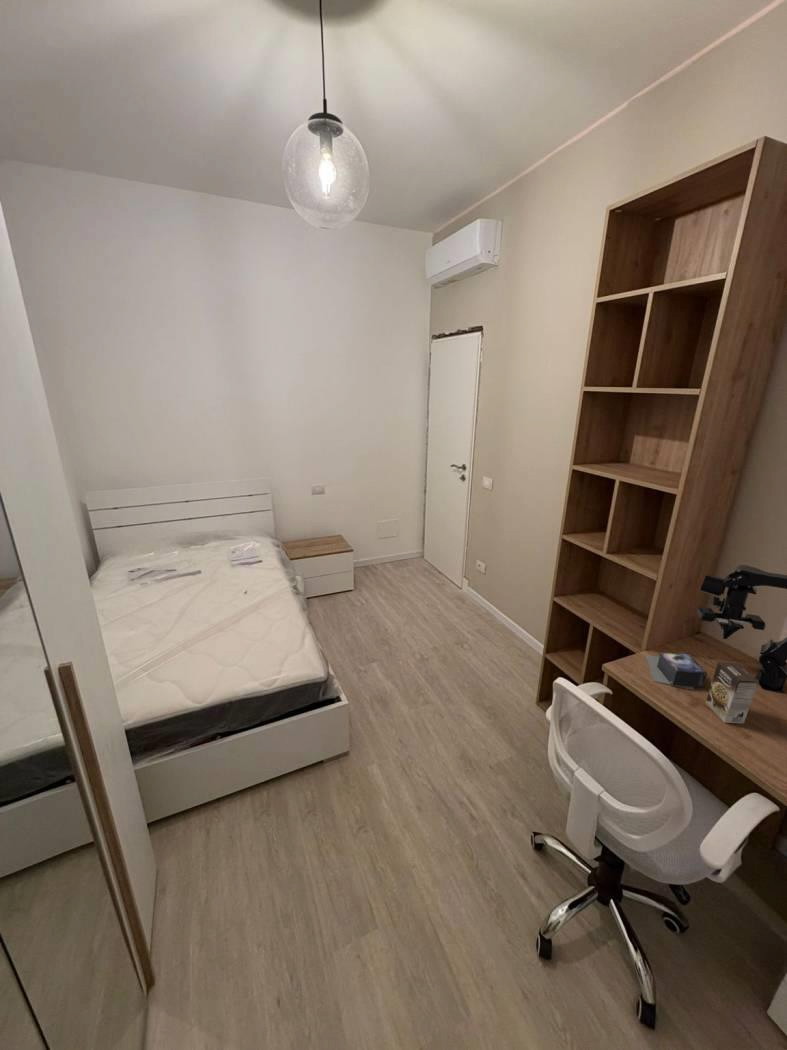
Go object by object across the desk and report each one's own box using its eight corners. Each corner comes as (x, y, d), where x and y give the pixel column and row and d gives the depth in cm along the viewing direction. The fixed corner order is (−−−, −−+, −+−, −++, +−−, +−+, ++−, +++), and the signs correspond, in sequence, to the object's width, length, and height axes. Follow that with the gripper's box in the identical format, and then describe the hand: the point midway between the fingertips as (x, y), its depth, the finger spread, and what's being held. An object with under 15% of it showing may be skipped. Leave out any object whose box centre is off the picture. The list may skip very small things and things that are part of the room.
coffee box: (704, 702, 139) (716, 661, 133) (724, 702, 138) (737, 661, 133) (724, 723, 130) (738, 680, 125) (745, 723, 130) (760, 680, 125)
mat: (681, 662, 158) (681, 661, 158) (693, 690, 144) (694, 689, 144) (645, 655, 162) (645, 654, 162) (654, 681, 148) (654, 680, 148)
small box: (708, 672, 142) (676, 671, 143) (703, 687, 145) (672, 686, 145) (689, 653, 152) (659, 652, 153) (685, 667, 155) (656, 666, 155)
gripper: (758, 594, 151) (746, 631, 156) (697, 586, 158) (687, 622, 163) (772, 609, 142) (759, 648, 147) (706, 599, 148) (696, 637, 153)
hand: (724, 638), depth 152 cm, fingers closed
